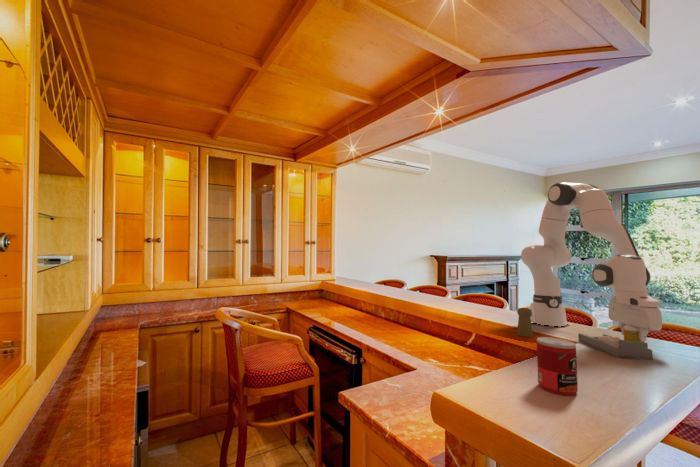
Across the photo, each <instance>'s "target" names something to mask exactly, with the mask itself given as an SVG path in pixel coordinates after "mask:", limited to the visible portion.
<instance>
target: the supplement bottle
mask: <svg viewBox="0 0 700 467" xmlns="http://www.w3.org/2000/svg"><path fill="white" fill-rule="evenodd" d="M625 323H626V326H624V327H623V332H624V335H623V340H624V341H629V342H645V341H640V340H638V339H637V338H638V337H637V335H639V333H640V331H639V327H636V326H632V325H630V324H629V321H627V320H626V322H625Z"/></svg>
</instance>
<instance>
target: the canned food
mask: <svg viewBox="0 0 700 467" xmlns="http://www.w3.org/2000/svg"><path fill="white" fill-rule="evenodd" d="M577 358H578V357H577V346H576V343H575V342H572V341H570V340H568V339H563V338H559V337H558V338H557V337H548V336H545V337H544V336H540V337H537V338H536V360H537V361H536V362H537V382H538V386H539V387H540V388H541V389H542V390H544V391H547V392H549V393H552V394H555V395H560V396H566V397H569V396H571V397H572V396H575V395H577V393H578V389H579V388H578V386H579V384H578V363H577V360H578V359H577Z"/></svg>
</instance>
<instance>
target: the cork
mask: <svg viewBox="0 0 700 467" xmlns="http://www.w3.org/2000/svg"><path fill="white" fill-rule="evenodd" d="M516 311H517V312H516V313H517V315H518V322H517V330H516V335H517V336H520V337H525V338H533V337H534V331H533V326H532V325H533V324H531V319H530V316H531V314H532V312H531V310H530V309H528V307H520V308H518V309H517V310H516Z"/></svg>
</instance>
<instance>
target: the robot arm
mask: <svg viewBox="0 0 700 467" xmlns="http://www.w3.org/2000/svg"><path fill="white" fill-rule="evenodd" d="M547 199H548V200H547V201H546V203H545V206H544V208H543V211H542V215H541V218H540V222H539V228H538V234H539V235H540V236H541V237H542V238H543V239H542V240H543V245H540V244H539V245H538V244H535V245H530V246H529V245H528V246H526V247H524V248H523V249H522V251H521V253H520V260H521V261H522V263H523V264H524V265H525V266H526V267H527V268H528V270H529V271H530V273H531V275H532V279H533V286H534V287H533V288H534V289H533V290H534V294H533V295H532V296H533V297H532V303H531V304H530V305H529V306H528V307H527V309H530V310H531V312H532V314H531V316H530V319H531V322H533V323H537V324H536V325H538V324H542V325H541V326H544V325H549V326H548V327H554V326H558V327H557V328H562V327H561V326H565V325H566V324H568V323H569V322H568V320H567V313H566V308H565V307H564V306H563V296H562V293H561V280H560V278H559V277H558V276H556V275H555V274H554V271H553V270H552V268H561V267H565V266H567V265H569V264H570V263H571V261H572V257H573V256H572V253H571V251H570V250H569V249H568V248H567V244H566V232H567V227H568V222H569V217H570V213H571V211H572V210H574V209H575V208H576V209H577V210H578V212H579V218H580V223H581V225H582V228H583V229H584V231H586V232H587V233H589V234H590V235H592V236H595V237H598V238H601V239H604V240H606V241H608V242H610V243H611V244H613V246H614V247H615V249H616V251H617V254H616V255H614V257H613V258H612V259H611V260H609V261H606V262H604V263H598V264H597V265H595V266H594V267H593V270H592V273H591V275H592V280H593V282H594V283H595V284H596V285H598V286H599V287H602V288H605V289H606V288H608V289H609V288H610V289H614V296H612V298H610V302H608V313H607V314H608V318H609V320H610V321H613V322H618V326H619V328H620V329H621V330H620V331H621V335H622V336H624V332H623V327H624V326H626V323H625V322H626V320H627V321H629V324H630V325H632V326H636V327H639V331H640V333H639V335H637V337H638V338H637V339H638V340H640V341H644V342H646V341H647V336H648V334H649V332H650V331H658V332H659V331H661V329H662V328H663V319H662V318H663V317H662V312H661V309H659V308H661V307H662V303H661V301H660V300H658V299H656V298H655V297H653V296H651V295H649V294H648V289H647V286H648V284H650V281H651V277H652V276H651V274H650V271H649V269H648V268H647V266H646V263H645V261H644V259H643V258H642V257H641V256H640V254H639V251H638V250H637V247H636V246H635V243H634V241H633V238H632V236H631V235H630V233H629V231H628V229H627V228H626V227H625V226H623V225H622V224H621V222H619V221H618V218H617V217H616V215H615V213H614V209H613V206H612V204H611V201H610V199H609V197H608V195H607V193H606V191H604V190H603V189H600V188H599V187H598V186H596V185H593V184H587V183H583V182H582V183H581V182H565V181H564V182H558V183H557V182H556V183H554V184H553V185H551V186H550V187H549V189H548V193H547ZM565 327H566V326H565Z"/></svg>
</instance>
